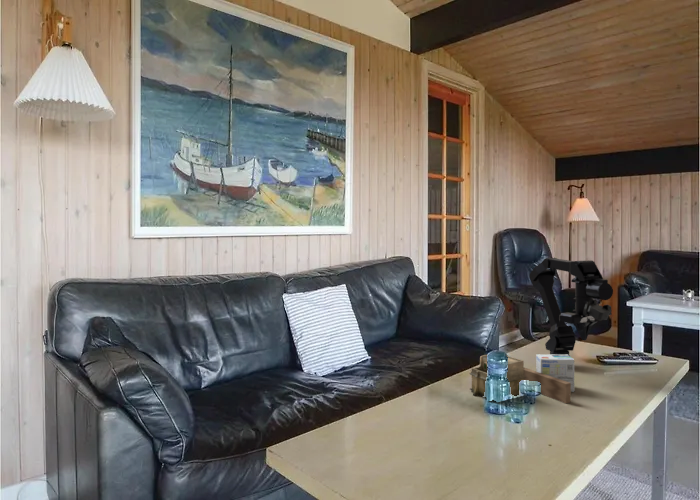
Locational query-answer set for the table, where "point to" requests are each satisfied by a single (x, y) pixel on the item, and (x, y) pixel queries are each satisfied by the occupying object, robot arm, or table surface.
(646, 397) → the table surface
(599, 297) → the robot arm
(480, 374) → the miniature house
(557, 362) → the light bulb box
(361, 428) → the table surface
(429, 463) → the table surface
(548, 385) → the wall
